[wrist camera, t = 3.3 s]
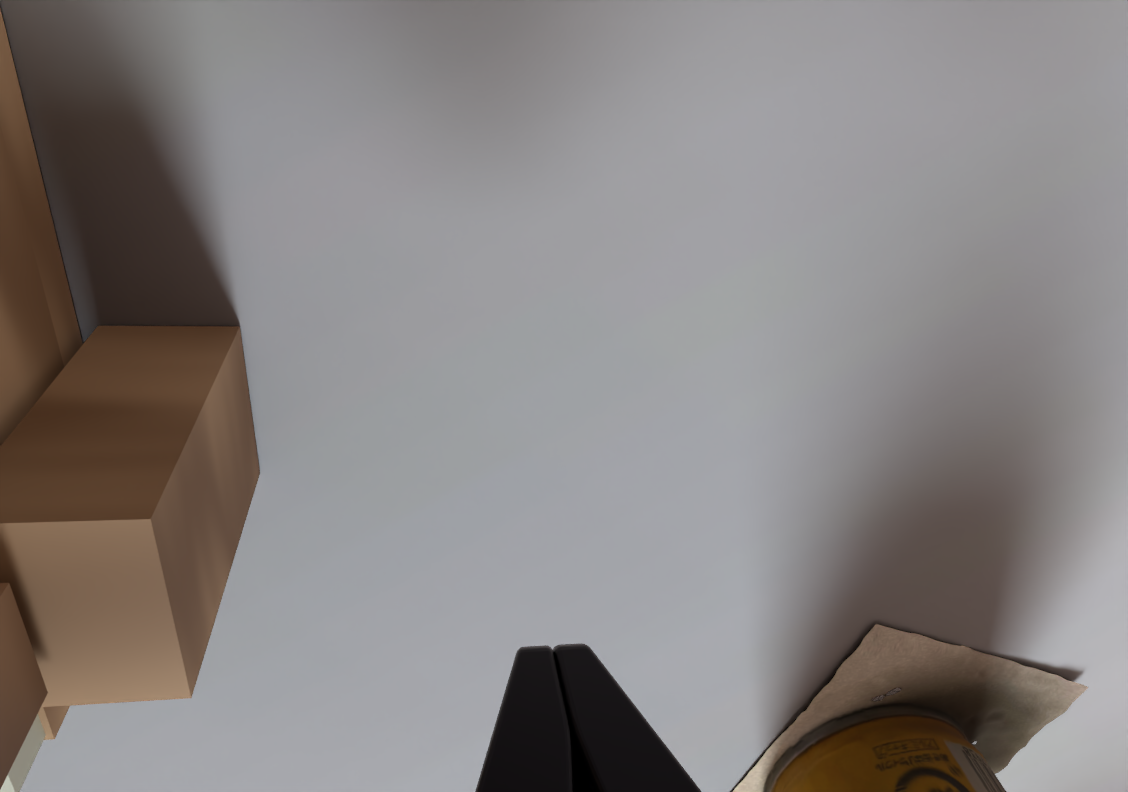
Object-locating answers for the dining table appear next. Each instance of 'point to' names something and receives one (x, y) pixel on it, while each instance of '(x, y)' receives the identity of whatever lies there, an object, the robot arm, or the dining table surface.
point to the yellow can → (913, 721)
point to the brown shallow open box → (109, 466)
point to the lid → (24, 758)
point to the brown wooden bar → (16, 682)
